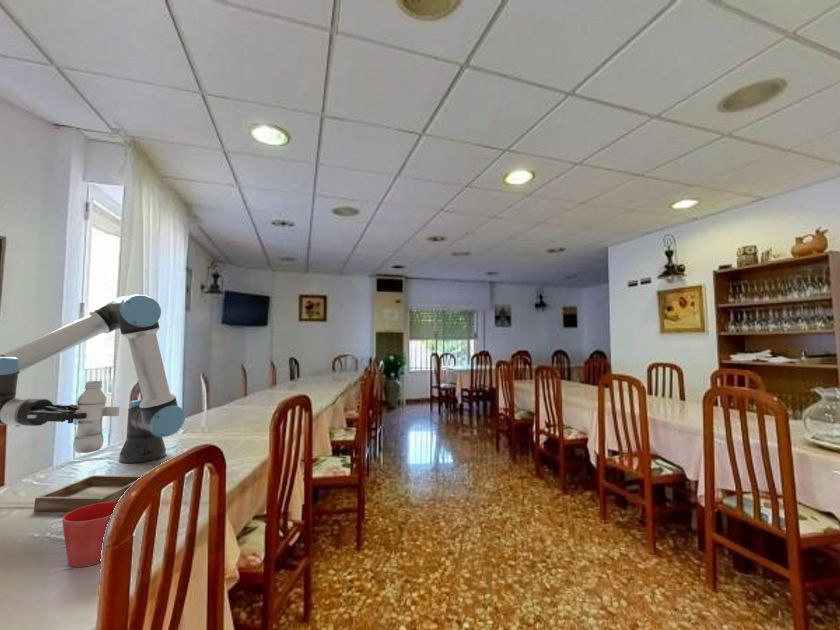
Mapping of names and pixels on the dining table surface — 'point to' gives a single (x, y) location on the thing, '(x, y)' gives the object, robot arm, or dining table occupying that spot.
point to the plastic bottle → (90, 431)
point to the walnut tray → (84, 493)
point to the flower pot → (86, 533)
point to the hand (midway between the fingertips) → (109, 413)
